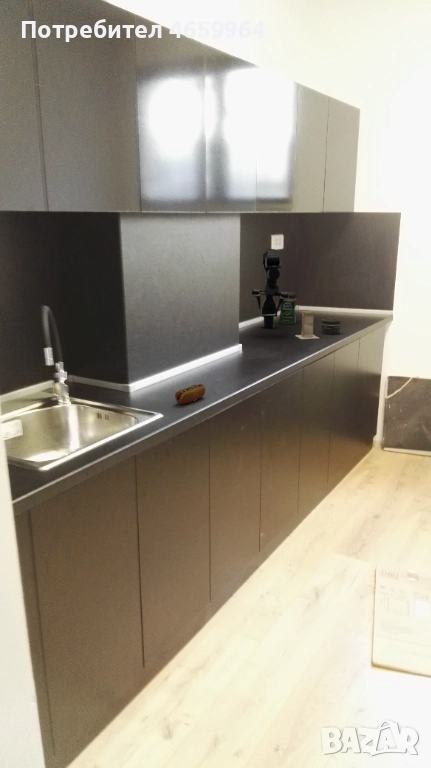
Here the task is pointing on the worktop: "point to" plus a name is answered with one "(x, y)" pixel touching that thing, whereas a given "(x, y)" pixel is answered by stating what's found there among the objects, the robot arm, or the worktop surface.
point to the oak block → (307, 324)
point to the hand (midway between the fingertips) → (268, 310)
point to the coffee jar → (288, 309)
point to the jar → (330, 326)
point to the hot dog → (190, 393)
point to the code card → (306, 338)
